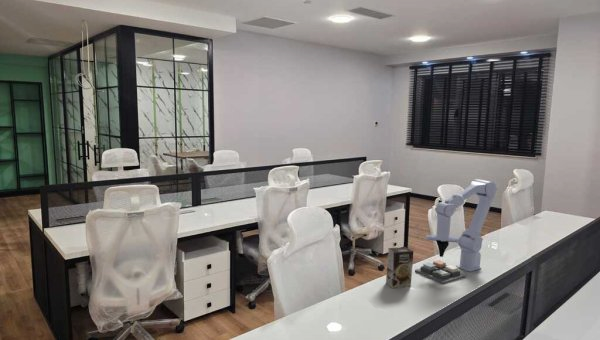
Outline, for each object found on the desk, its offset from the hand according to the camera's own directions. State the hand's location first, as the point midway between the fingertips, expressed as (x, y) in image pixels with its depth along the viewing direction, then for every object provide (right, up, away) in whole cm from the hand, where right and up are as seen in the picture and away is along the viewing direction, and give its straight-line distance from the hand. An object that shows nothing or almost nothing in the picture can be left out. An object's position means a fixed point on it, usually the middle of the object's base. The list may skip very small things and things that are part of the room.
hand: (441, 256), depth 192 cm
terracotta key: (0, -6, +4) cm, 7 cm away
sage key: (-2, -8, -6) cm, 10 cm away
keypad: (-1, -8, -1) cm, 9 cm away
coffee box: (-23, -10, -14) cm, 29 cm away
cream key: (+4, -7, -2) cm, 8 cm away
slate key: (-6, -6, 0) cm, 8 cm away
